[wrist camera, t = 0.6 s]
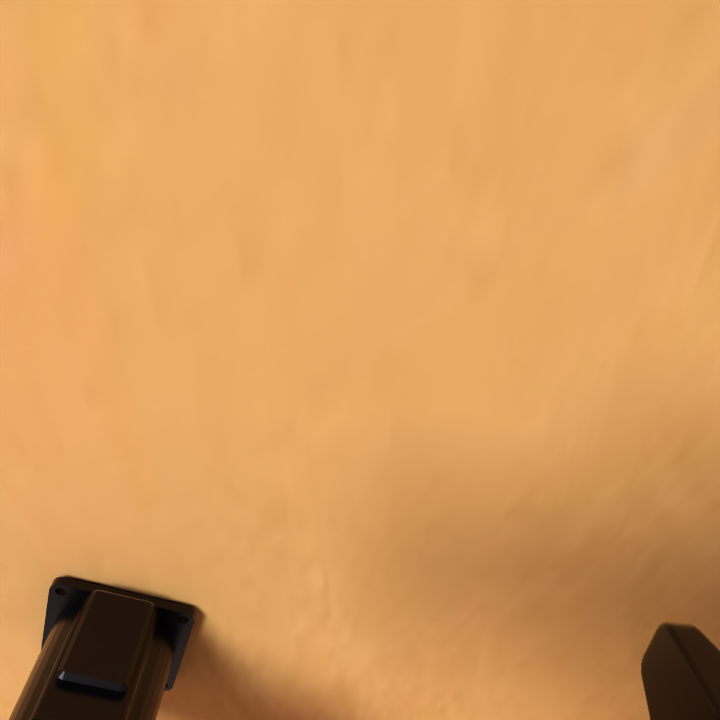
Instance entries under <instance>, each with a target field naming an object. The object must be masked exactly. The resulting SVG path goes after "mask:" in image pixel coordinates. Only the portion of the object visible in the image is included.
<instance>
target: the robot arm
mask: <svg viewBox="0 0 720 720" xmlns="http://www.w3.org/2000/svg"><path fill="white" fill-rule="evenodd" d="M195 616H196V612H195V610H194V609H193V608H192V607H189V606H186V605H182V604H177V603H173V602H169V601H164V600H160V599H156V598H152V597H147V596H143V595H139V594H134V593H130V592H126V591H121V590H117V589H113V588H108V587H104V586H100V585H96V584H91V583H87V582H83V581H78V580H74V579H70V578H65V577H58V578H56V579H54V581H53V583H52V585H51V587H50V589H49V595H48V603H47V610H46V618H45V625H44V633H43V640H42V648H41V652H40V655H39V657H38V659H37V661H36V663H35V665H34V667H33V669H32V671H31V674H30V676H29V678H28V680H27V682H26V684H25V686H24V688H23V691H22V693H21V695H20V697H19V699H18V701H17V703H16V705H15V707H14V710H13V712H12V714H11V716H10V718H9V720H156V717H157V714H158V710H159V707H160V703H161V700H162V696H163V693H164V691H167V690H170V689H171V688H172V687H173V684H174V681H175V678H176V675H177V672H178V669H179V666H180V663H181V660H182V657H183V654H184V651H185V648H186V645H187V641H188V638H189V635H190V632H191V629H192V626H193V623H194V620H195ZM641 674H642V680H643V685H644V690H645V695H646V700H647V705H648V710H649V715H650V720H720V650H719V649H718V648H717V647H716V646H715V645H714V644H713V643H712V642H711V641H710V640H709V639H708V638H707V637H706V636H705V635H704V634H703V633H702V632H701V631H700V630H699V629H697V628H696V627H695V626H693V625H690V624H685V623H671V622H664V623H662V624H661V625H659V627H658V628H657V630H656V632H655V634H654V636H653V638H652V640H651V642H650V644H649V646H648V648H647V650H646V652H645V654H644V656H643V659H642V663H641Z"/></svg>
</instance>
